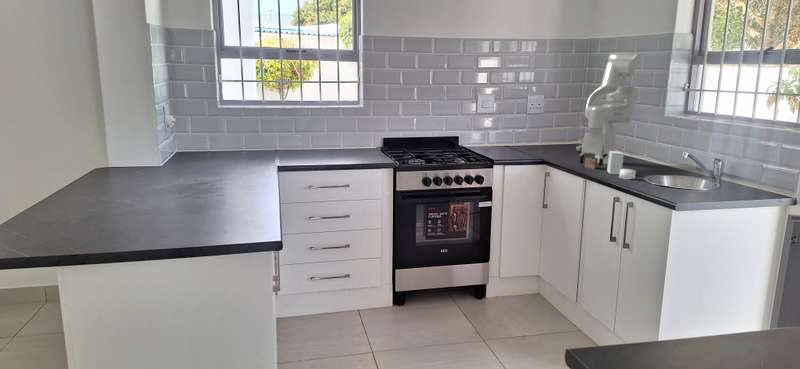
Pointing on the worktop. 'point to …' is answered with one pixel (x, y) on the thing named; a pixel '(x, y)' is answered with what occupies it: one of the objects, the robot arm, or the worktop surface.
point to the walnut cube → (591, 163)
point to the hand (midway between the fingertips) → (590, 164)
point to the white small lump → (627, 174)
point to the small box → (615, 162)
